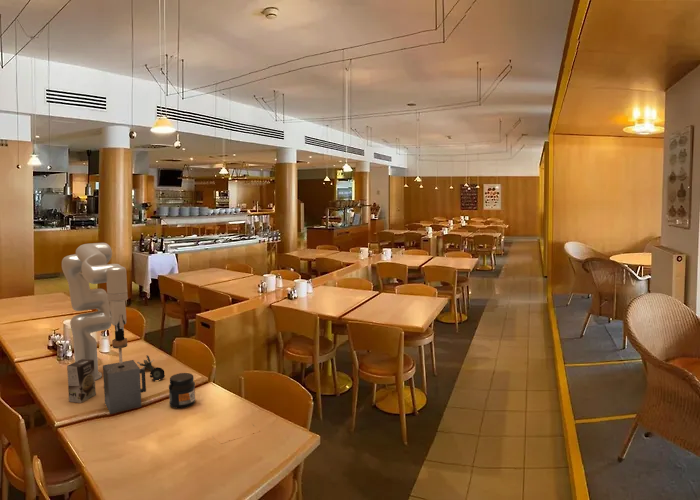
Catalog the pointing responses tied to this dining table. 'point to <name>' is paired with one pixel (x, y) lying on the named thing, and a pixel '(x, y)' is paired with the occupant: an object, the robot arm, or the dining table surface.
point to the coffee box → (81, 380)
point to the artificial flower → (153, 370)
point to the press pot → (123, 386)
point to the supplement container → (182, 390)
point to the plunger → (120, 348)
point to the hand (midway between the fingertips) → (119, 339)
